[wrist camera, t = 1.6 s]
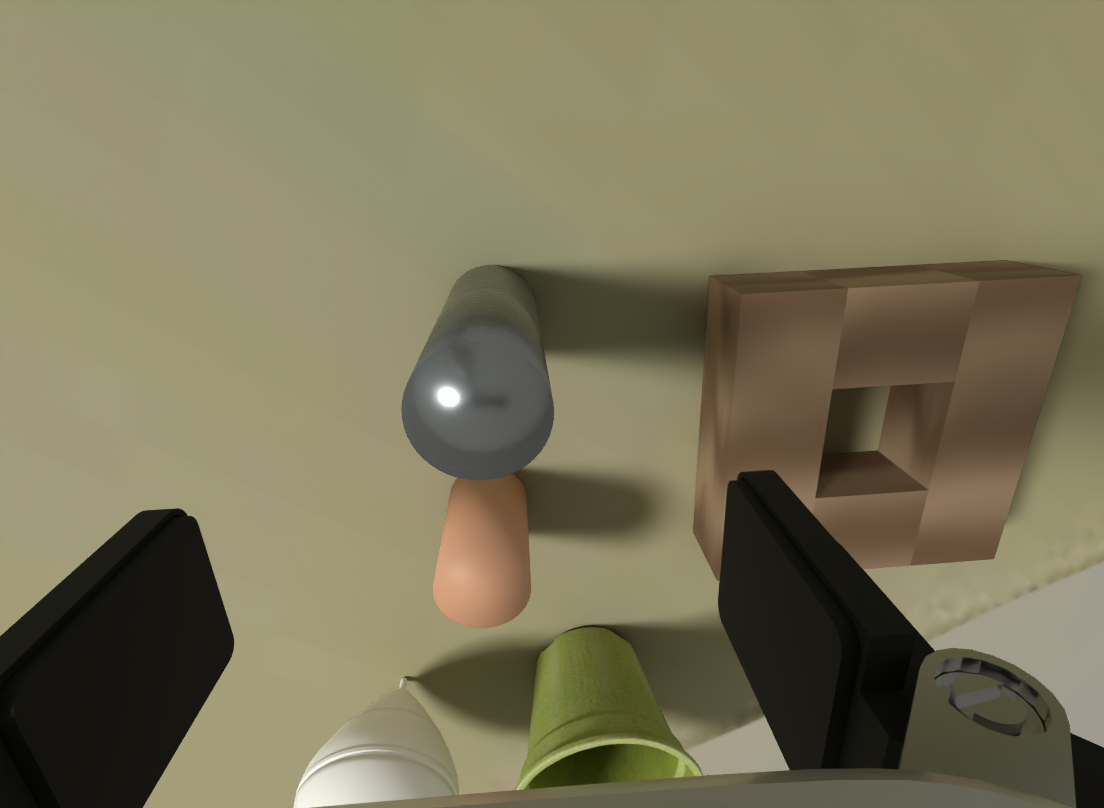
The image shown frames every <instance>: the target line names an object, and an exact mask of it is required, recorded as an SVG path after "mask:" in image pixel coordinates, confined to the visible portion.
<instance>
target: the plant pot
mask: <svg viewBox="0 0 1104 808" xmlns="http://www.w3.org/2000/svg"><path fill="white" fill-rule="evenodd" d="M689 776H703V774H702V771H701V769H700V768H699V766H698V764H697V763H696V762H695V760H694V759H693V758H692V757H691V756H690V755H689V754H688V753H687V752H686V751H684V749H683V747H682V745H681V744H680V742H679V741H678V739H677V738H676V737H675V736H674V735H673V734H672V733H671V730H670V728H669V726H668V724H667V722H666V720H665V718H664V715H663V713H662V711H661V709H660V707H659V705H658V702H657V700H656V698H655V696H654V694H653V692H652V690H651V687H650V685H649V683H648V681H647V678H646V676H645V673H644V671H643V669H642V666H641V664H640V662H639V660H638V658H637V656H636V653H635V651H634V649H633V647H632V645H631V644H630V643H629V642H628V641H626V640H624V639H622V638H621V637H619V636H618V635H616V634H615V633H613V632H612V631H610V630H608V629H604V628H598V627H585V628H579V629H574V630H571V631H568V632H565V633H563V634H561V635H559V636H558V637H557V638H556V639H555V640H554V641H553V643H552V644H551V645H550V646H549V647H548V648H547V649H545V650H544V651H542V652H541V654H540V655H539V658H538V660H537V665H536V675H535V685H534V696H533V706H532V716H531V726H530V735H529V744H528V753H527V759H526V761H525V763H524V765H523V768H522V771H521V777H520V780H519V782H518V783H517V785H516V787H515V789H514V790H525V789H538V788H550V787H563V786H575V785H588V784H601V783H613V782H626V781H639V780H651V779H664V778H677V777H689Z"/></svg>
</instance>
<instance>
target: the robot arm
mask: <svg viewBox="0 0 1104 808" xmlns="http://www.w3.org/2000/svg"><path fill="white" fill-rule="evenodd" d="M718 608H719V614H720V618H721V621H722V624H723V626H724V628H725V630H726V633H727V635H728V637H729V639H730V641H731V643H732V646H733V648H734V650H735V652H736V654H737V656H738V659H739V661H740V663H741V665H742V667H743V669H744V672H745V674H746V676H747V678H748V680H749V682H750V685H751V687H752V689H753V691H754V693H755V696H756V698H757V700H758V702H759V704H760V706H761V709H762V711H763V713H764V715H765V717H766V719H767V722H768V724H769V726H770V728H771V730H772V732H773V735H774V737H775V739H776V741H777V743H778V745H779V748H780V750H781V752H782V754H783V756H784V759H785V761H786V763H787V765H788V767H789V769H790V770H788V771H772V772H755V773H738V774H722V775H706V776H689V777H677V778H664V779H651V780H639V781H626V782H613V783H601V784H588V785H575V786H563V787H550V788H538V789H525V790H512V791H500V792H488V793H476V794H464V795H452V796H440V797H428V798H416V799H405V800H393V801H381V802H369V803H358V804H346V805H334V806H323V807H311V808H1104V748H1103V747H1101V746H1099V745H1097V744H1094V743H1092V742H1090V741H1087V740H1085V739H1083V738H1081V737H1078V736H1076V735H1073V734H1072V733H1070V725H1069V721H1068V718H1067V715H1066V713H1065V709H1064V708H1063V707H1062V705H1061V704H1060V703H1059V701H1058V700H1057V699H1056V697H1055V696H1054V695H1053V693H1052V692H1050V691H1049V690H1048V689H1047V688H1046V687H1045V686H1044V685H1043V684H1041V683H1040V682H1039V681H1038V680H1037V679H1036V678H1034V677H1033V676H1031V675H1030V674H1028V673H1026V672H1025V671H1023V670H1022V669H1020V668H1018V667H1017V666H1015V665H1013V664H1011V663H1009V662H1006V661H1004V660H1002V659H999V658H997V657H995V656H993V655H989V654H985V653H982V652H978V651H974V650H969V649H958V648H949V649H943V650H937V651H934V649H933V648H932V647H931V646H930V645H929V644H928V643H927V641H926V640H925V639H924V638H923V637H922V636H921V635H920V634H919V632H918V631H917V630H916V629H915V628H914V627H913V626H912V624H911V623H910V622H909V621H908V620H907V619H906V618H905V617H904V615H903V614H902V613H901V612H900V611H899V610H898V609H897V607H896V606H895V605H894V604H893V603H892V602H891V601H890V599H889V598H888V597H887V596H886V595H885V594H884V593H883V592H882V590H881V589H880V588H879V587H878V586H877V585H876V584H875V582H874V581H873V580H872V579H871V578H870V577H869V576H868V575H867V573H866V572H865V571H864V570H863V569H862V568H861V567H860V565H859V564H858V563H857V562H856V561H855V560H854V559H853V557H852V556H851V555H850V554H849V553H848V552H847V551H846V550H845V548H844V547H843V546H842V545H841V544H839V543H838V542H837V541H836V540H835V539H834V538H833V537H832V535H831V534H830V533H829V532H828V531H827V530H826V529H825V527H824V526H823V525H822V524H821V523H820V522H819V521H818V519H817V518H816V517H815V516H814V515H813V514H812V513H811V512H810V510H809V509H808V508H807V507H806V506H805V505H804V504H803V502H802V501H801V500H800V499H799V498H798V497H797V496H796V494H795V493H794V492H793V491H792V490H791V489H790V488H789V486H788V485H787V484H786V483H785V482H784V481H783V480H782V478H781V477H780V476H779V475H778V474H777V473H776V472H775V471H774V470H761V471H746V472H740V473H739V474H738V477H737V480H731V481H730V482H729V483H728V487H727V496H726V509H725V521H724V533H723V546H722V558H721V571H720V583H719V595H718ZM233 649H234V637H233V633H232V630H231V627H230V624H229V621H228V617H227V614H226V611H225V608H224V605H223V601H222V598H221V595H220V592H219V589H218V586H217V582H216V579H215V576H214V573H213V570H212V566H211V563H210V560H209V557H208V554H207V551H206V547H205V544H204V541H203V538H202V535H201V532H200V528H199V525H198V523H197V521H196V519H195V518H194V517H192V516H188V515H187V514H186V513H185V512H184V511H183V510H181V509H179V508H178V509H162V510H147V511H142V512H140V513H138V514H137V515H136V516H135V517H133V518H132V519H131V520H130V521H129V522H128V523H127V524H126V525H125V526H123V527H122V528H121V529H120V530H119V531H118V532H117V533H116V534H114V535H113V536H112V537H111V538H110V539H109V540H108V541H107V542H105V543H104V544H103V545H102V546H101V547H100V548H99V549H98V550H96V551H95V552H94V553H93V554H92V555H91V556H90V557H89V558H87V559H86V560H85V561H84V562H83V563H82V564H81V565H80V566H79V567H77V568H76V569H75V570H74V571H73V572H72V573H71V574H70V575H68V576H67V577H66V578H65V579H64V580H63V581H62V582H61V583H59V584H58V585H57V586H56V587H55V588H54V589H53V590H52V591H50V592H49V593H48V594H47V595H46V596H45V597H44V598H43V599H42V600H40V601H39V602H38V603H37V604H36V605H35V606H34V607H33V608H31V609H30V610H29V611H28V612H27V613H26V614H25V615H24V616H22V617H21V618H20V619H19V620H18V621H17V622H16V623H15V624H13V625H12V626H11V627H10V628H9V629H8V630H7V631H6V632H5V633H3V634H2V635H1V636H0V808H143V806H144V804H145V803H146V801H147V799H148V798H149V796H150V794H151V793H152V791H153V789H154V787H155V786H156V784H157V782H158V781H159V779H160V777H161V776H162V774H163V772H164V771H165V769H166V767H167V766H168V764H169V762H170V760H171V759H172V757H173V755H174V754H175V752H176V750H177V749H178V747H179V745H180V744H181V742H182V740H183V738H184V737H185V735H186V733H187V732H188V730H189V728H190V727H191V725H192V723H193V722H194V720H195V718H196V717H197V715H198V713H199V711H200V710H201V708H202V706H203V705H204V703H205V701H206V700H207V698H208V696H209V695H210V693H211V691H212V689H213V688H214V686H215V684H216V683H217V681H218V679H219V678H220V676H221V674H222V673H223V671H224V669H225V668H226V666H227V664H228V662H229V661H230V659H231V657H232V653H233Z"/></svg>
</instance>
